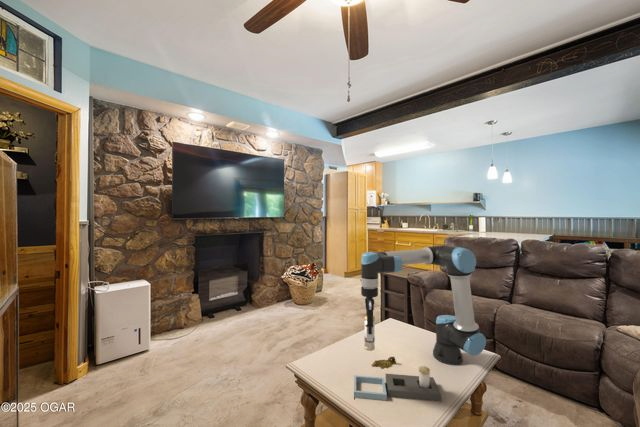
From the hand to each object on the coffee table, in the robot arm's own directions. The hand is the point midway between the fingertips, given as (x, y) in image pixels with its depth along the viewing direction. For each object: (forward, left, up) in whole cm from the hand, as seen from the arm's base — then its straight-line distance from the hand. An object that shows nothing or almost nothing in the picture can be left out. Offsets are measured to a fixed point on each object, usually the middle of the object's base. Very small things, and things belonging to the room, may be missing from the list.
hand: (369, 337), depth 121 cm
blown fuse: (0, 0, -5) cm, 5 cm away
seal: (-9, -22, -25) cm, 35 cm away
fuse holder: (-19, -3, -25) cm, 31 cm away
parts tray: (0, 0, -25) cm, 25 cm away
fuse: (-24, -3, -24) cm, 34 cm away
